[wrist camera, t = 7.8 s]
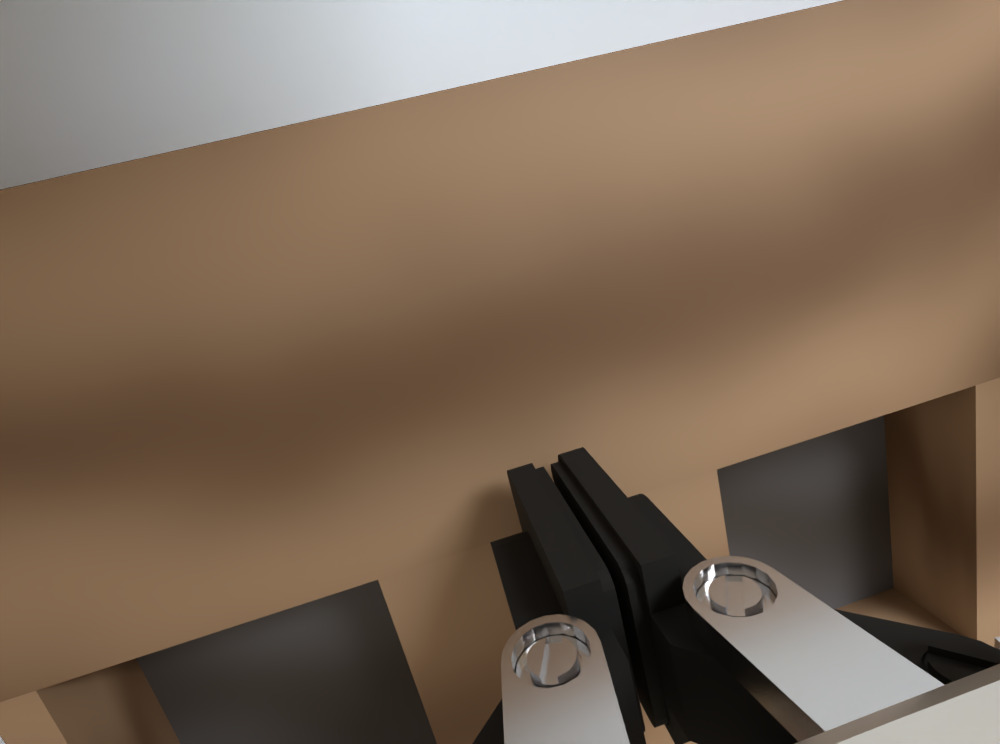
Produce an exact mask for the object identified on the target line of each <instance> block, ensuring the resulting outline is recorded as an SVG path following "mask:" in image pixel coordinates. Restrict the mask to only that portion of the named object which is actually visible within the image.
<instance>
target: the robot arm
mask: <svg viewBox="0 0 1000 744" xmlns="http://www.w3.org/2000/svg"><path fill="white" fill-rule="evenodd" d="M551 472H552V476H553V480H554V482H553V480H552V479H551V477H550V476H549V474H548V472H547V471H546V469H545V468H544V466H543V467H540V468H537V469H535V467H534V465H533V464H532V463H530V464H526V465H523V466H520V467H517V468H514V469H510V470H507V475H508V479H509V483H510V487H511V491H512V495H513V498H514V502H515V506H516V510H517V514H518V517H519V521H520V525H521V529H522V532H520V533H517V534H514V535H511V536H508V537H505V538H502V539H499V540H496V541H493V542H490V543H491V547H492V550H493V554H494V557H495V561H496V564H497V568H498V571H499V575H500V578H501V582H502V585H503V589H504V592H505V595H506V599H507V602H508V606H509V609H510V613H511V616H512V619H513V623H514V626H515V630H516V632H515V633H514V634H513V635H512V636H511V637H510V638H509V639H508V641H507V643H506V645H505V647H504V649H503V651H502V658H501V682H502V699H501V701H500V702H499V704H498V705H497V707H496V708H495V710H494V711H493V713H492V714H491V716H490V717H489V719H488V721H487V722H486V724H485V725H484V727H483V728H482V730H481V731H480V733H479V734H478V736H477V737H476V739H475V740H474V742H473V743H472V744H646V740H645V736H644V732H645V724H644V720H643V715H642V710H641V706H640V703H641V705H642V707H643V709H644V711H645V712H646V714H647V716H648V718H649V720H650V722H651V724H652V725H653V727H655V728H656V727H659V726H661V725H665V727H666V729H667V730H668V732H669V734H670V736H671V738H672V740H673V741H674V743H675V744H684V743H687V742H690V741H692V742H694V743H697V744H1000V637H995V645H994V647H993V646H990V645H988V644H986V643H984V642H982V641H979V640H976V639H972V638H969V637H965V636H962V635H958V634H954V633H949V632H944V631H939V630H934V629H929V628H924V627H919V626H915V625H910V624H905V623H900V622H895V621H890V620H885V619H880V618H876V617H871V616H866V615H861V614H856V613H851V612H846V611H842V610H837V609H832V608H831V607H829V606H828V605H826V604H825V603H824V602H822V601H821V600H819V599H818V598H816V597H815V596H813V595H812V594H810V593H809V592H807V591H806V590H804V589H803V588H801V587H800V586H798V585H797V584H796V583H794V582H793V581H791V580H790V579H788V578H787V577H785V576H784V575H782V574H781V573H779V572H778V571H776V570H775V569H773V568H772V567H770V566H768V565H766V564H764V563H762V562H760V561H757V560H753V559H750V558H746V557H738V556H723V557H714V558H711V559H708V560H707V559H706V558H705V557H704V556H703V555H702V554H701V553H700V552H699V551H698V550H697V549H696V548H695V547H694V546H693V544H692V543H691V542H690V541H689V540H688V539H687V538H686V537H685V536H684V535H683V534H682V533H681V532H680V531H679V530H678V529H677V528H676V527H675V526H674V525H673V523H672V522H671V521H670V520H669V519H668V518H667V517H666V516H665V515H664V514H663V513H662V512H661V511H660V510H659V509H658V508H657V507H656V506H655V505H654V504H653V502H652V501H651V500H650V499H649V498H648V497H647V496H645V495H644V494H637V495H634V496H631V497H627V496H626V495H625V494H624V493H623V491H622V490H621V489H620V488H619V487H618V486H617V485H616V483H615V482H614V481H613V480H612V479H611V478H610V477H609V475H608V474H607V473H606V472H605V471H604V470H603V469H602V468H601V466H600V465H599V464H598V463H597V462H596V461H595V460H594V458H593V457H592V456H591V455H590V454H589V453H588V452H587V450H586V449H585V448H584V447H581V448H578V449H575V450H572V451H568V452H565V453H562V454H559V455H558V462H556V463H553V464H551Z"/></svg>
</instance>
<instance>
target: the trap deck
mask: <svg viewBox="0 0 1000 744" xmlns="http://www.w3.org/2000/svg"><path fill="white" fill-rule="evenodd" d="M581 447H584V448H585V449H586V450H587V452H588V453H589V454H590V455H591V456H592V457H593V458H594V460H595V461H596V462H597V463H598V464H599V465H600V466H601V468H602V469H603V470H604V471H605V472H606V473H607V474H608V475H609V477H610V478H611V479H612V480H613V481H614V482H615V483H616V485H617V486H618V487H619V488H620V489H621V490H622V491H623V493H624V494H625V495H626V496H627V497H631V496H634V495H637V494H644V495H645V496H647V497H648V498H649V499H650V500H651V501H652V502H653V504H654V505H655V506H656V507H657V508H658V509H659V510H660V511H661V512H662V513H663V514H664V515H665V516H666V517H667V518H668V519H669V520H670V521H671V522H672V523H673V525H674V526H675V527H676V528H677V529H678V530H679V531H680V532H681V533H682V534H683V535H684V536H685V537H686V538H687V539H688V540H689V541H690V542H691V543H692V544H693V546H694V547H695V548H696V549H697V550H698V551H699V552H700V553H701V554H702V555H703V556H704V557H705V558H706V559H707V560H708V559H711V558H714V557H723V556H738V557H746V558H750V559H753V560H757V561H760V562H762V563H764V564H766V565H768V566H770V567H772V568H773V569H775V570H776V571H778V572H779V573H781V574H782V575H784V576H785V577H787V578H788V579H790V580H791V581H793V582H794V583H796V584H797V585H798V586H800V587H801V588H803V589H804V590H806V591H807V592H809V593H810V594H812V595H813V596H815V597H816V598H818V599H819V600H821V601H822V602H824V603H825V604H826V605H828V606H829V607H831V608H832V609H837V610H842V611H846V612H851V613H856V614H861V615H866V616H871V617H876V618H880V619H885V620H890V621H895V622H900V623H905V624H910V625H915V626H919V627H924V628H929V629H934V630H939V631H944V632H949V633H954V634H958V635H962V636H965V637H969V638H972V639H976V640H979V641H982V642H984V643H986V644H988V645H990V646H993V647H994V645H995V637H1000V0H843V1H839V2H834V3H830V4H825V5H821V6H816V7H812V8H808V9H803V10H799V11H794V12H790V13H785V14H781V15H776V16H772V17H767V18H763V19H759V20H754V21H750V22H745V23H741V24H736V25H732V26H727V27H723V28H719V29H714V30H710V31H705V32H701V33H696V34H692V35H687V36H683V37H678V38H674V39H670V40H665V41H661V42H656V43H652V44H647V45H643V46H638V47H634V48H630V49H625V50H621V51H616V52H612V53H607V54H603V55H598V56H594V57H589V58H585V59H581V60H576V61H572V62H567V63H563V64H558V65H554V66H549V67H545V68H541V69H536V70H532V71H527V72H523V73H518V74H514V75H509V76H505V77H500V78H496V79H492V80H487V81H483V82H478V83H474V84H469V85H465V86H460V87H456V88H451V89H447V90H443V91H438V92H434V93H429V94H425V95H420V96H416V97H411V98H407V99H403V100H398V101H394V102H389V103H385V104H380V105H376V106H371V107H367V108H362V109H358V110H354V111H349V112H345V113H340V114H336V115H331V116H327V117H322V118H318V119H314V120H309V121H305V122H300V123H296V124H291V125H287V126H282V127H278V128H273V129H269V130H265V131H260V132H256V133H251V134H247V135H242V136H238V137H233V138H229V139H225V140H220V141H216V142H211V143H207V144H202V145H198V146H193V147H189V148H184V149H180V150H176V151H171V152H167V153H162V154H158V155H153V156H149V157H144V158H140V159H136V160H131V161H127V162H122V163H118V164H113V165H109V166H104V167H100V168H95V169H91V170H87V171H82V172H78V173H73V174H69V175H64V176H60V177H55V178H51V179H47V180H42V181H38V182H33V183H29V184H24V185H20V186H15V187H11V188H6V189H2V190H0V736H1V737H2V739H3V740H4V742H5V743H6V744H472V743H473V742H474V740H475V739H476V737H477V736H478V734H479V733H480V731H481V730H482V728H483V727H484V725H485V724H486V722H487V721H488V719H489V717H490V716H491V714H492V713H493V711H494V710H495V708H496V707H497V705H498V704H499V702H500V701H501V699H502V682H501V658H502V651H503V649H504V647H505V645H506V643H507V641H508V639H509V638H510V637H511V636H512V635H513V634H514V633H515V632H516V630H515V626H514V623H513V619H512V616H511V613H510V609H509V606H508V602H507V599H506V595H505V592H504V589H503V585H502V582H501V578H500V575H499V571H498V568H497V564H496V561H495V557H494V554H493V550H492V547H491V543H490V542H493V541H496V540H499V539H502V538H505V537H508V536H511V535H514V534H517V533H520V532H522V529H521V525H520V521H519V517H518V514H517V510H516V506H515V502H514V498H513V495H512V491H511V487H510V483H509V479H508V475H507V470H510V469H514V468H517V467H520V466H523V465H526V464H530V463H532V464H533V465H534V467H535V469H537V468H540V467H543V466H544V468H545V469H546V471H547V472H548V474H549V476H550V477H551V479H552V480H553V476H552V472H551V464H553V463H556V462H558V455H559V454H562V453H565V452H568V451H572V450H575V449H578V448H581ZM553 482H554V480H553ZM640 706H641V710H642V715H643V720H644V724H645V732H644V736H645V740H646V744H675V743H674V741H673V740H672V738H671V736H670V734H669V732H668V730H667V729H666V727H665V725H661V726H659V727H656V728H655V727H653V725H652V724H651V722H650V720H649V718H648V716H647V714H646V712H645V711H644V709H643V707H642V705H641V703H640ZM684 744H697V743H694V742H692V741H690V742H687V743H684Z"/></svg>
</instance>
